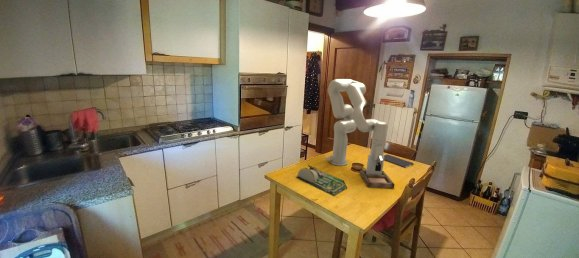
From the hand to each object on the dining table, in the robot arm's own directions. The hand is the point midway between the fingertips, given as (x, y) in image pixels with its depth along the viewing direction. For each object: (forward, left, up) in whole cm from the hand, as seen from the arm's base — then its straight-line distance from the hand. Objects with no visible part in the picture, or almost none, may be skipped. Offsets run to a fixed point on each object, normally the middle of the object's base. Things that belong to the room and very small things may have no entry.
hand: (375, 167), depth 150 cm
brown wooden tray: (0, -5, -7) cm, 9 cm away
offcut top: (0, -8, -7) cm, 10 cm away
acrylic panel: (0, 0, -7) cm, 7 cm away
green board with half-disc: (-34, -6, -8) cm, 35 cm away
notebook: (+27, +31, -8) cm, 42 cm away
